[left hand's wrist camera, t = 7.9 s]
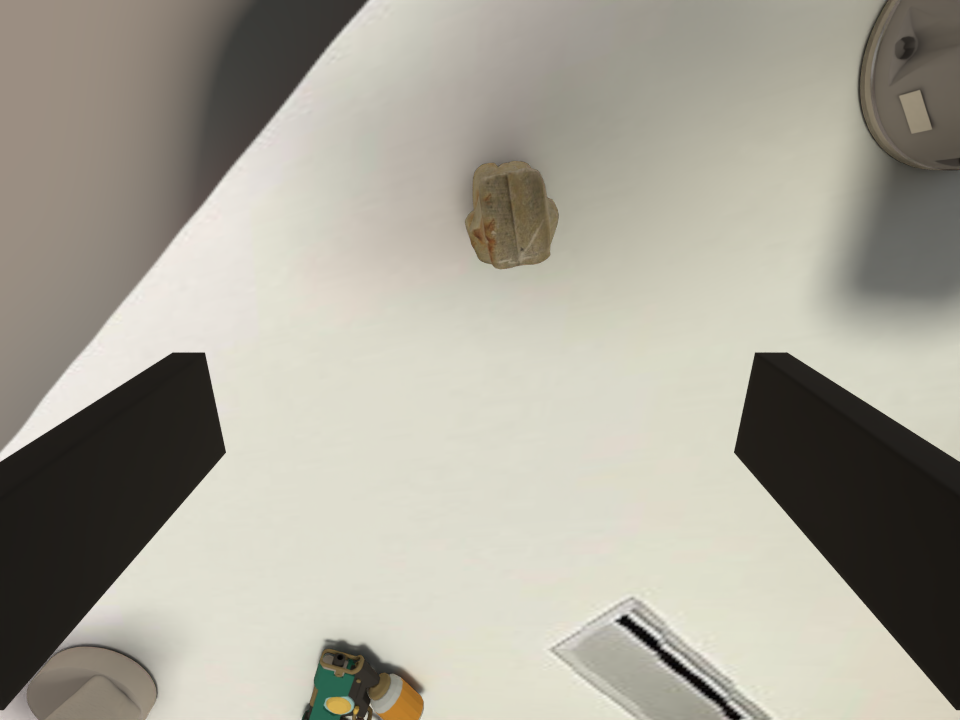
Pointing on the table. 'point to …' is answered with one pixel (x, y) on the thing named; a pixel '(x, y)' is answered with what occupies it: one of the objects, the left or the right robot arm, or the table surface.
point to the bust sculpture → (91, 687)
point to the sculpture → (511, 215)
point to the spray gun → (359, 691)
